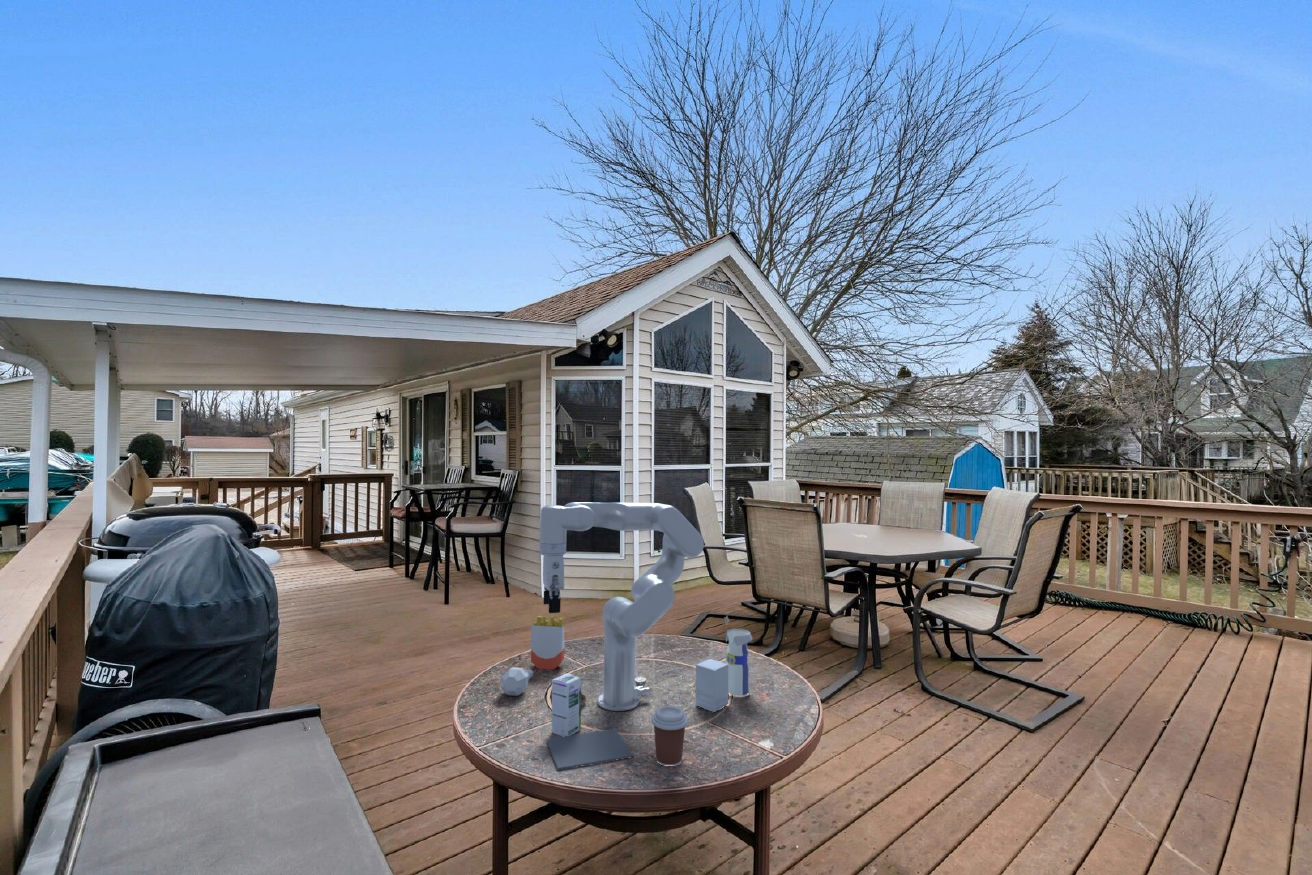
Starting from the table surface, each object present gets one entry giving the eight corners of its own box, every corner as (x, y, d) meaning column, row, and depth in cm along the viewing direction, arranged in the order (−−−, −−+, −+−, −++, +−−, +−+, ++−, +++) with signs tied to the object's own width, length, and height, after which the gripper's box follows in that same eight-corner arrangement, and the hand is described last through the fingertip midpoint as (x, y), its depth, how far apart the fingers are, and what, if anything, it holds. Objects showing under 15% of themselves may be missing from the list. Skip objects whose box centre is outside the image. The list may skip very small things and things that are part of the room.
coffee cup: (658, 747, 155) (659, 701, 155) (692, 755, 151) (693, 707, 151) (644, 764, 146) (645, 715, 146) (679, 773, 143) (680, 722, 143)
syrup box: (567, 738, 159) (568, 683, 159) (550, 732, 162) (551, 678, 162) (581, 730, 164) (582, 676, 164) (564, 724, 167) (565, 672, 167)
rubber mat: (615, 730, 164) (616, 728, 164) (633, 757, 150) (633, 755, 150) (546, 741, 157) (546, 738, 157) (557, 770, 143) (558, 767, 143)
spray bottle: (739, 701, 184) (740, 619, 185) (718, 692, 191) (720, 613, 191) (756, 694, 190) (757, 615, 190) (735, 685, 196) (737, 609, 197)
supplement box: (728, 706, 181) (729, 664, 181) (714, 713, 175) (714, 670, 176) (709, 698, 186) (710, 658, 186) (694, 706, 180) (695, 663, 181)
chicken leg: (543, 681, 199) (535, 657, 201) (527, 692, 182) (519, 665, 183) (520, 691, 199) (512, 666, 201) (502, 702, 181) (493, 675, 183)
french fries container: (534, 663, 213) (535, 612, 213) (564, 665, 212) (565, 614, 212) (530, 668, 208) (531, 616, 209) (561, 670, 207) (562, 617, 208)
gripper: (571, 553, 165) (570, 615, 165) (560, 543, 182) (559, 599, 182) (544, 554, 163) (542, 617, 163) (535, 544, 179) (534, 601, 179)
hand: (551, 608), depth 172 cm, fingers open, 9 cm apart
